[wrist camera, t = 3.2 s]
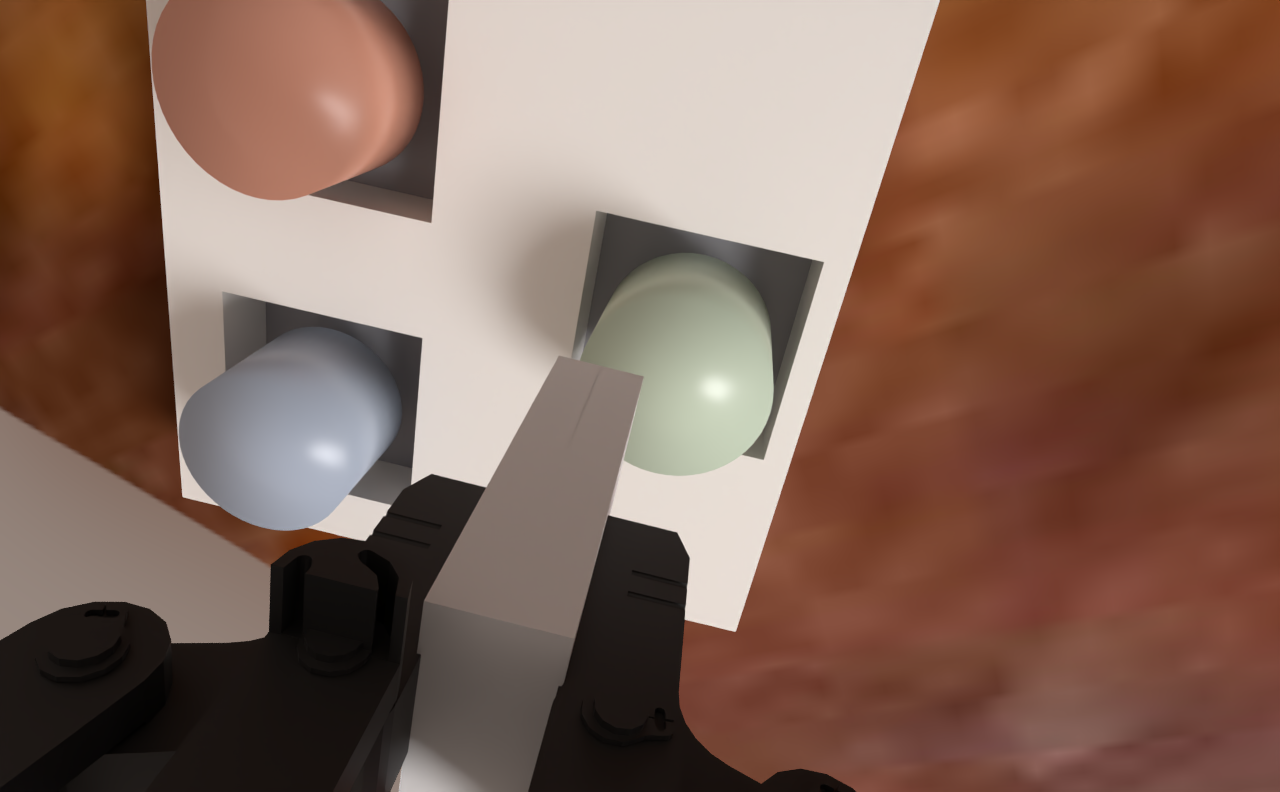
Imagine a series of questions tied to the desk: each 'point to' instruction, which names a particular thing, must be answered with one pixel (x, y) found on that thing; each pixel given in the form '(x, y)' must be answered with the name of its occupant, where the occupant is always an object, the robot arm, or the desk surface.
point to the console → (565, 229)
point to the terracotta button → (286, 90)
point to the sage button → (689, 361)
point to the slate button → (291, 428)
